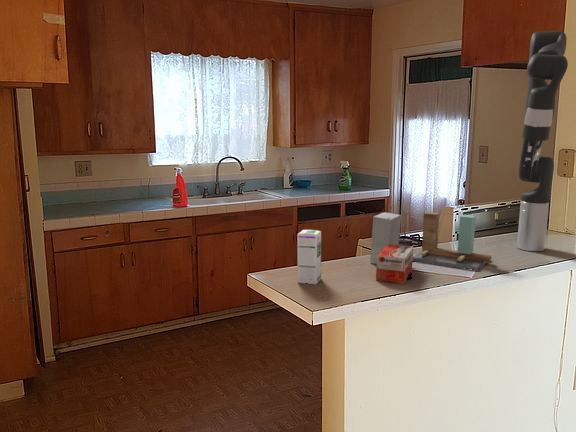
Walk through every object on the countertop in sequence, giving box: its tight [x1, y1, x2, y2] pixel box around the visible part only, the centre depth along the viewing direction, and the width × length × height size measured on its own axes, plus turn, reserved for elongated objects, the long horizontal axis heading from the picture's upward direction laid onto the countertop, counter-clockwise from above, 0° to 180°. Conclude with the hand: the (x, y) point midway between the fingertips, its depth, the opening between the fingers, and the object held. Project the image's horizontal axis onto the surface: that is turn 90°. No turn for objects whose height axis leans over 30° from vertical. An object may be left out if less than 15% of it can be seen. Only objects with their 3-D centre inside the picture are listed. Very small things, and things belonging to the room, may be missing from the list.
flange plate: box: [413, 251, 488, 272], centre depth 178 cm, size 16×21×1 cm
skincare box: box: [369, 211, 402, 265], centre depth 174 cm, size 8×7×16 cm
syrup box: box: [296, 229, 322, 285], centre depth 154 cm, size 6×6×14 cm
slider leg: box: [457, 214, 477, 261], centre depth 175 cm, size 9×4×14 cm, turn 147°
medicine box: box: [375, 244, 414, 285], centre depth 160 cm, size 15×8×8 cm, turn 158°
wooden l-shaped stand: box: [421, 211, 493, 263], centre depth 176 cm, size 9×22×14 cm, turn 57°
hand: (528, 175), depth 169 cm, fingers open, 8 cm apart
